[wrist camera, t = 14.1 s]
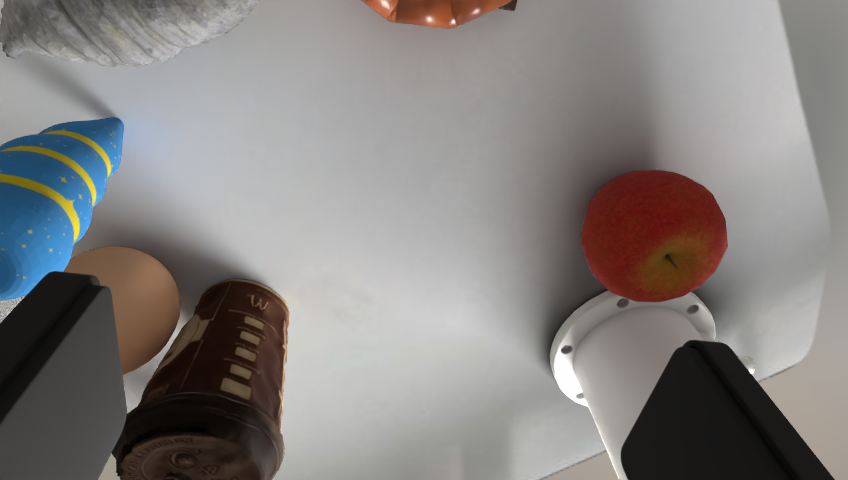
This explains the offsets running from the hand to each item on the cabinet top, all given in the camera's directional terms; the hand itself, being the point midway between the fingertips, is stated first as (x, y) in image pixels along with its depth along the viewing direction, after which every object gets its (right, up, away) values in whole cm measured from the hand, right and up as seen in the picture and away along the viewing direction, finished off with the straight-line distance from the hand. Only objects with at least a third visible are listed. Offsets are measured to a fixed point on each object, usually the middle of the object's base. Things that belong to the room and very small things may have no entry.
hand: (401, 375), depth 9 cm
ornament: (-17, +9, +22) cm, 29 cm away
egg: (-18, 0, +27) cm, 32 cm away
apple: (+14, +5, +27) cm, 30 cm away
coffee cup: (-12, -3, +29) cm, 32 cm away
